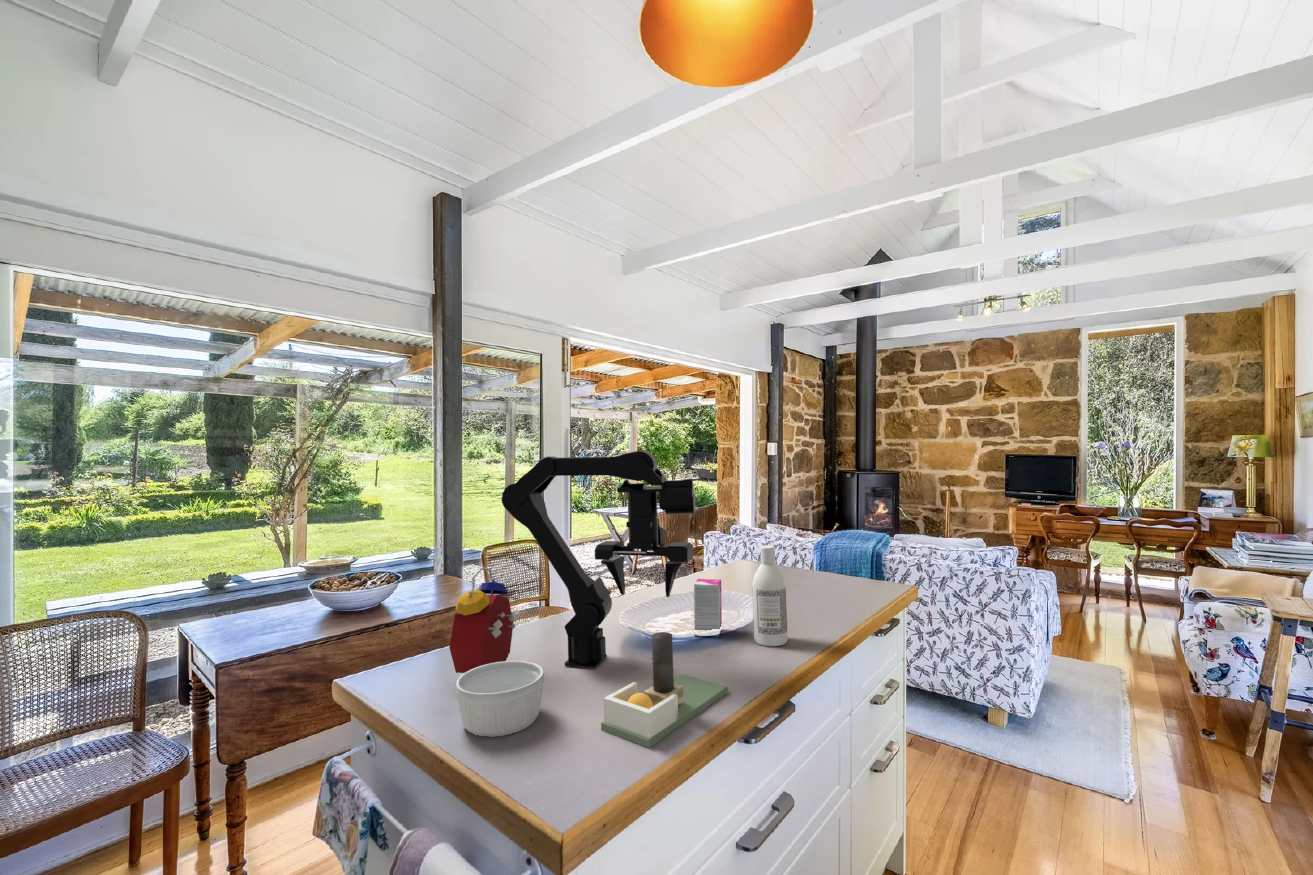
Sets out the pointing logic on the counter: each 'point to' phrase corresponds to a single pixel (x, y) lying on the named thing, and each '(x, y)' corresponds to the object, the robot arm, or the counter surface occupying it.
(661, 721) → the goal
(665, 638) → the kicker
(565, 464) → the robot arm
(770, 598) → the bath foam
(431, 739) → the counter surface
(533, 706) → the ramekin
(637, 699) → the ball
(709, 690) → the board
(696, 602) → the supplement box
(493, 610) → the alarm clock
